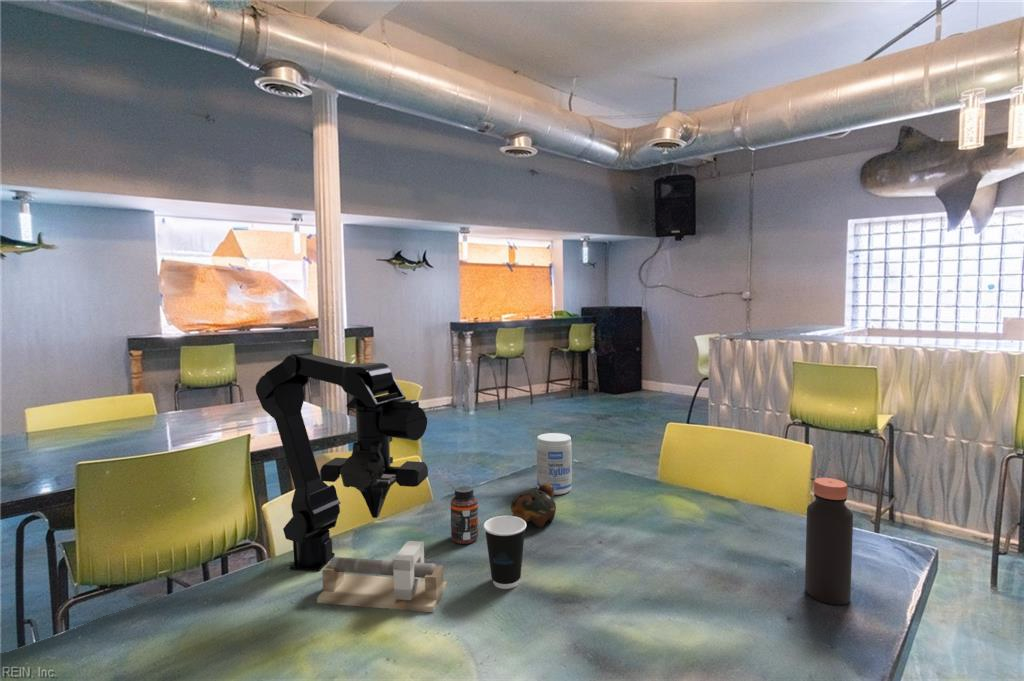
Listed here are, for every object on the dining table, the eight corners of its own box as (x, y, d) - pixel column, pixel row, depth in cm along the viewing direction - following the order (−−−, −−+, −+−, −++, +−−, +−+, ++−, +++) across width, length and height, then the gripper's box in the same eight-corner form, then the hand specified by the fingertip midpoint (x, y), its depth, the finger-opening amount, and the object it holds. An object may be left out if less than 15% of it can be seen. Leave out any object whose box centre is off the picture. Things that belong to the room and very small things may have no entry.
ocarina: (566, 514, 126) (567, 483, 125) (535, 544, 113) (535, 509, 112) (532, 505, 131) (531, 475, 130) (498, 532, 118) (498, 499, 117)
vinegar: (835, 610, 86) (838, 492, 84) (796, 590, 92) (798, 479, 90) (859, 599, 89) (863, 484, 87) (820, 580, 95) (822, 473, 93)
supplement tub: (552, 498, 136) (551, 443, 135) (529, 488, 144) (529, 436, 143) (579, 490, 142) (578, 437, 141) (556, 480, 149) (556, 430, 148)
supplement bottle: (474, 546, 111) (473, 494, 110) (447, 544, 112) (446, 492, 111) (481, 533, 116) (480, 484, 116) (456, 532, 118) (454, 483, 117)
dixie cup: (515, 566, 102) (514, 512, 101) (535, 586, 95) (534, 528, 94) (478, 577, 98) (476, 520, 97) (495, 598, 91) (494, 537, 90)
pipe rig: (317, 602, 91) (315, 568, 90) (339, 578, 99) (338, 546, 98) (433, 612, 87) (432, 576, 87) (446, 586, 95) (445, 553, 95)
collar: (394, 599, 89) (392, 559, 88) (409, 577, 96) (407, 540, 95) (411, 600, 88) (409, 560, 88) (424, 578, 95) (423, 541, 95)
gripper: (300, 443, 88) (304, 532, 89) (404, 448, 85) (406, 541, 86) (334, 427, 99) (337, 507, 100) (427, 431, 95) (429, 513, 97)
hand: (375, 517), depth 95 cm, fingers closed
